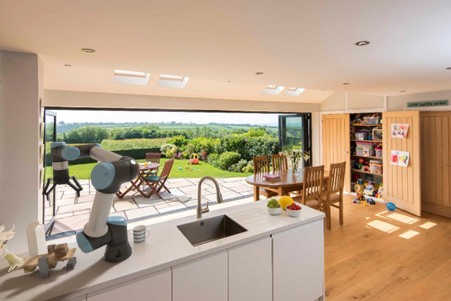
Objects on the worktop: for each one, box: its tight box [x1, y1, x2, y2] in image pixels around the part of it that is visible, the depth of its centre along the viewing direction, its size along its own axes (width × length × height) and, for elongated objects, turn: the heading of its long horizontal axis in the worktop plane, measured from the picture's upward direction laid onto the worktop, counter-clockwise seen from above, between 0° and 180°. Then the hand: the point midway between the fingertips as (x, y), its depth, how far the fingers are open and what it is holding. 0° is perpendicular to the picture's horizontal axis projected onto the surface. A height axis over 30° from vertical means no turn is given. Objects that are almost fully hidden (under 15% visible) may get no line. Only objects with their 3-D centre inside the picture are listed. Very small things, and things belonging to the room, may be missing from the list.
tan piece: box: [16, 247, 77, 274], centre depth 132 cm, size 24×11×9 cm, turn 108°
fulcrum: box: [38, 243, 57, 280], centre depth 132 cm, size 4×15×11 cm, turn 19°
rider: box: [54, 242, 69, 258], centre depth 133 cm, size 5×5×5 cm
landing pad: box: [66, 256, 77, 271], centre depth 136 cm, size 3×7×4 cm, turn 18°
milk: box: [25, 220, 48, 257], centre depth 145 cm, size 6×6×22 cm
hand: (64, 204), depth 146 cm, fingers open, 13 cm apart
